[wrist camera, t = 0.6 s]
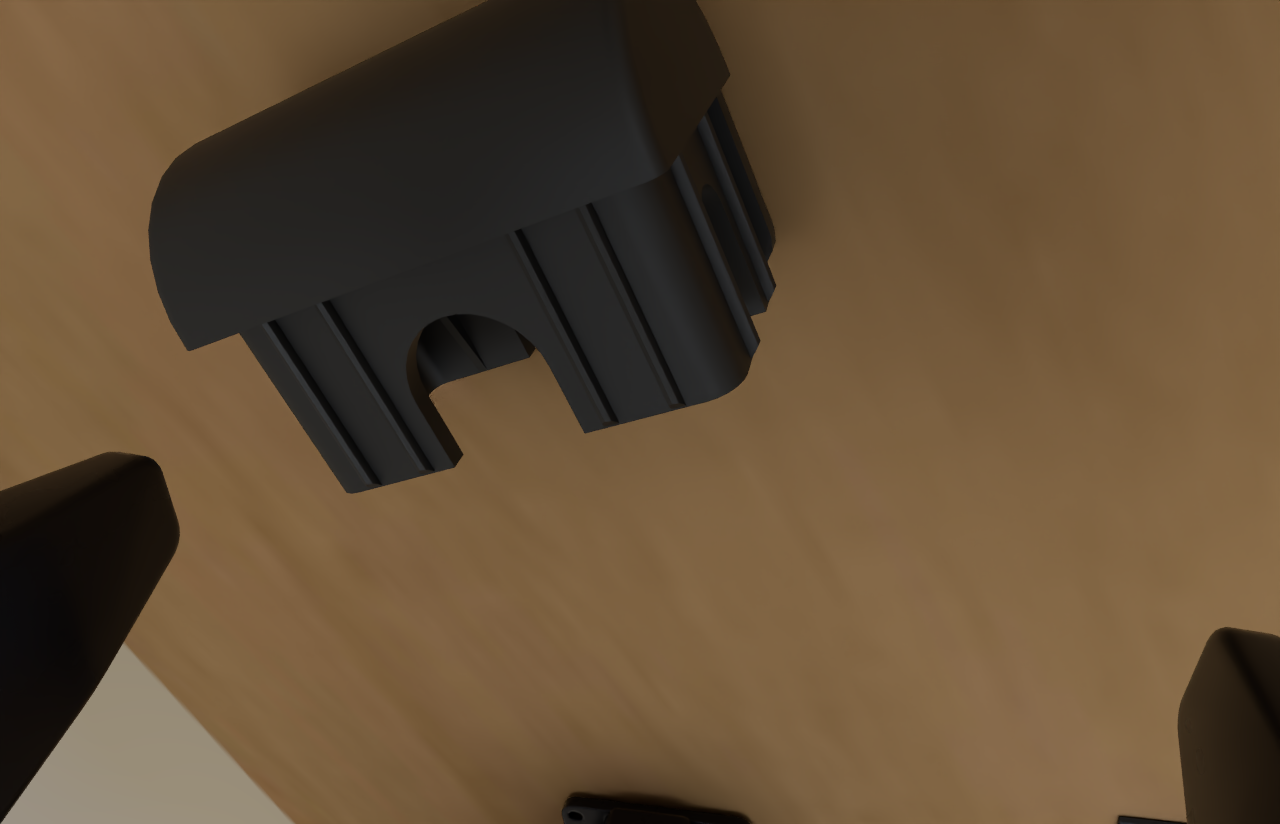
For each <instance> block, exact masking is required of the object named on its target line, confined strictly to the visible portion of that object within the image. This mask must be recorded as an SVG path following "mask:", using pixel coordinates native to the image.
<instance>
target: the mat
mask: <svg viewBox="0 0 1280 824" xmlns="http://www.w3.org/2000/svg"><path fill="white" fill-rule="evenodd" d="M1118 824H1180V823H1172V822H1163V821H1154V820H1145V819H1136V818H1128V817H1119V821H1118Z"/></svg>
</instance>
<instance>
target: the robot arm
mask: <svg viewBox="0 0 1280 824" xmlns="http://www.w3.org/2000/svg"><path fill="white" fill-rule="evenodd" d="M179 537H180V527H179V523H178V519H177V516H176V513H175V510H174V507H173V504H172V501H171V497H170V494H169V491H168V488H167V485H166V482H165V479H164V475H163V472H162V470H161V468H160V466H159V465H158V464H157V463H156V462H155V461H154V460H153V459H151V458H149V457H146V456H141V455H135V454H128V453H122V452H107V453H103V454H100V455H97V456H95V457H92V458H89V459H87V460H84V461H81V462H78V463H76V464H73V465H70V466H67V467H65V468H62V469H59V470H57V471H54V472H51V473H48V474H46V475H43V476H40V477H38V478H35V479H32V480H29V481H27V482H24V483H21V484H18V485H16V486H13V487H10V488H8V489H5V490H2V491H0V823H1V822H2V821H3V820H4V818H5V816H6V815H7V814H8V812H9V811H10V810H11V808H12V807H13V806H14V804H15V803H16V801H17V800H18V799H19V797H20V796H21V794H22V793H23V791H24V790H25V789H26V787H27V786H28V784H29V783H30V782H31V780H32V779H33V777H34V776H35V775H36V773H37V772H38V770H39V769H40V768H41V766H42V765H43V764H44V762H45V761H46V759H47V758H48V757H49V755H50V754H51V752H52V751H53V749H54V748H55V747H56V745H57V744H58V742H59V741H60V740H61V738H62V737H63V735H64V734H65V733H66V731H67V730H68V728H69V727H70V726H71V724H72V723H73V721H74V720H75V719H76V717H77V716H78V714H79V713H80V712H81V710H82V709H83V707H84V706H85V704H86V703H87V701H88V700H89V698H90V697H91V695H92V694H93V692H94V691H95V689H96V688H97V686H98V684H99V683H100V681H101V679H102V678H103V676H104V675H105V673H106V671H107V670H108V668H109V666H110V665H111V663H112V661H113V659H114V657H115V656H116V654H117V653H118V651H119V649H120V647H121V646H122V644H123V642H124V640H125V639H126V637H127V635H128V633H129V632H130V630H131V628H132V627H133V625H134V623H135V621H136V620H137V618H138V616H139V614H140V613H141V611H142V609H143V608H144V606H145V604H146V602H147V601H148V599H149V597H150V595H151V594H152V592H153V590H154V589H155V587H156V585H157V583H158V582H159V580H160V578H161V576H162V575H163V573H164V571H165V570H166V568H167V566H168V564H169V563H170V561H171V559H172V557H173V556H174V554H175V552H176V549H177V546H178V543H179ZM1178 738H1179V748H1180V757H1181V767H1182V777H1183V786H1184V796H1185V805H1186V815H1187V824H1280V637H1278V636H1276V635H1273V634H1268V633H1262V632H1256V631H1249V630H1243V629H1237V628H1230V627H1224V628H1220V629H1218V630H1216V631H1215V632H1214V633H1213V634H1212V635H1211V636H1210V637H1209V639H1208V641H1207V643H1206V645H1205V648H1204V650H1203V652H1202V654H1201V657H1200V659H1199V661H1198V663H1197V666H1196V668H1195V670H1194V673H1193V675H1192V677H1191V679H1190V682H1189V684H1188V686H1187V688H1186V691H1185V693H1184V695H1183V698H1182V700H1181V704H1180V708H1179V714H1178ZM562 816H563V820H564V824H750V823H749V822H748V821H746V820H744V819H743V818H739V817H734V816H726V815H718V814H710V813H702V812H694V811H686V810H678V809H670V808H662V807H654V806H646V805H638V804H630V803H623V802H615V801H607V800H599V799H591V798H583V797H570V798H568V799H567V800H566V801H565V804H564V807H563V810H562Z"/></svg>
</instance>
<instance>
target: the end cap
mask: <svg viewBox="0 0 1280 824" xmlns="http://www.w3.org/2000/svg"><path fill="white" fill-rule="evenodd" d="M729 76H730V73H729V70H728V68H727V65H726V63H725V60H724V58H723V56H722V53H721V51H720V48H719V46H718V44H717V42H716V40H715V37H714V35H713V33H712V31H711V29H710V27H709V25H708V22H707V20H706V19H705V17H704V15H703V13H702V11H701V9H700V7H699V6H698V4H697V2H696V0H488V1H486V2H484V3H482V4H480V5H478V6H475V7H473V8H471V9H469V10H467V11H465V12H463V13H461V14H459V15H457V16H455V17H453V18H451V19H449V20H447V21H445V22H443V23H441V24H439V25H437V26H435V27H433V28H431V29H429V30H427V31H425V32H422V33H420V34H418V35H416V36H414V37H412V38H410V39H408V40H406V41H404V42H402V43H400V44H398V45H396V46H394V47H392V48H390V49H388V50H386V51H384V52H382V53H380V54H378V55H376V56H374V57H371V58H369V59H367V60H365V61H363V62H361V63H359V64H357V65H355V66H353V67H351V68H349V69H347V70H345V71H343V72H341V73H339V74H337V75H335V76H333V77H331V78H329V79H327V80H325V81H323V82H320V83H318V84H316V85H314V86H312V87H310V88H308V89H306V90H304V91H302V92H300V93H298V94H296V95H294V96H292V97H290V98H288V99H286V100H284V101H282V102H280V103H278V104H276V105H274V106H272V107H269V108H267V109H265V110H263V111H261V112H259V113H257V114H255V115H253V116H251V117H249V118H247V119H245V120H243V121H241V122H239V123H237V124H235V125H233V126H231V127H229V128H227V129H225V130H223V131H221V132H218V133H216V134H214V135H212V136H210V137H208V138H206V139H204V140H202V141H200V142H198V143H196V144H194V145H193V146H192V147H190V148H189V149H187V150H186V151H185V152H183V153H182V154H181V155H179V156H178V157H177V158H175V160H174V161H173V162H172V164H171V165H170V166H169V168H168V169H167V170H166V172H165V173H164V175H163V176H162V178H161V180H160V183H159V186H158V188H157V191H156V194H155V196H154V199H153V202H152V206H151V214H150V222H149V229H148V232H149V247H150V261H151V265H152V269H153V273H154V277H155V281H156V286H157V290H158V293H159V295H160V298H161V300H162V303H163V305H164V307H165V310H166V312H167V315H168V317H169V320H170V322H171V324H172V325H173V327H174V329H175V330H176V332H177V334H178V336H179V337H180V339H181V341H182V342H183V344H184V346H185V347H186V349H187V351H191V350H194V349H197V348H199V347H202V346H205V345H208V344H210V343H213V342H216V341H218V340H221V339H224V338H226V337H229V336H232V335H235V334H237V333H240V335H241V336H242V338H243V339H244V341H245V342H246V344H247V345H248V347H249V348H250V350H251V351H252V353H253V354H254V356H255V357H256V359H257V360H258V362H259V363H260V365H261V366H262V368H263V369H264V371H265V372H266V373H267V375H268V376H269V378H270V379H271V381H272V382H273V384H274V385H275V387H276V388H277V390H278V391H279V393H280V394H281V396H282V397H283V399H284V400H285V402H286V403H287V405H288V406H289V408H290V409H291V411H292V412H293V414H294V415H295V417H296V418H297V420H298V421H299V423H300V424H301V426H302V427H303V429H304V430H305V432H306V433H307V435H308V436H309V438H310V439H311V441H312V442H313V443H314V445H315V446H316V448H317V449H318V451H319V452H320V454H321V455H322V457H323V458H324V460H325V461H326V463H327V464H328V466H329V467H330V469H331V470H332V472H333V473H334V475H335V476H336V478H337V479H338V481H339V482H340V484H341V485H342V487H343V488H344V490H345V491H346V492H347V493H351V494H352V493H358V492H362V491H366V490H370V489H374V488H378V487H381V486H385V485H389V484H393V483H397V482H401V481H404V480H408V479H412V478H416V477H420V476H424V475H427V474H431V473H435V472H439V471H443V470H447V469H450V468H454V467H455V466H456V465H457V463H458V462H459V460H460V459H461V457H462V456H463V453H462V451H461V449H460V448H459V446H458V444H457V443H456V441H455V439H454V438H453V436H452V434H451V433H450V431H449V429H448V428H447V426H446V424H445V423H444V421H443V419H442V418H441V416H440V414H439V412H438V411H437V409H436V407H435V406H434V404H433V402H432V401H431V399H430V397H429V394H430V393H431V392H432V391H433V390H434V389H436V388H437V387H439V386H440V385H442V384H445V383H447V382H450V381H454V380H457V379H460V378H464V377H467V376H470V375H473V374H477V373H480V372H483V371H487V370H490V369H493V368H496V367H500V366H503V365H506V364H509V363H513V362H516V361H519V360H523V359H526V358H529V357H530V356H531V354H532V353H533V351H534V350H535V349H536V348H537V349H538V351H539V352H540V353H541V354H542V356H543V357H544V359H545V360H546V362H547V363H548V365H549V367H550V369H551V370H552V372H553V374H554V376H555V378H556V380H557V382H558V384H559V386H560V387H561V389H562V391H563V393H564V395H565V397H566V399H567V401H568V403H569V405H570V406H571V408H572V410H573V412H574V414H575V416H576V418H577V420H578V422H579V423H580V425H581V427H582V429H583V431H584V433H589V432H593V431H596V430H600V429H604V428H608V427H612V426H616V425H619V424H623V423H627V422H631V421H635V420H639V419H642V418H646V417H650V416H654V415H658V414H662V413H665V412H669V411H673V410H677V409H681V408H685V407H688V406H692V405H696V404H700V403H704V402H708V401H711V400H713V399H716V398H719V397H721V396H723V395H725V394H727V393H729V392H730V391H732V390H733V389H735V388H736V387H738V386H739V385H740V384H741V383H742V382H743V381H744V380H745V378H746V376H747V374H748V371H749V368H750V364H751V361H752V358H753V355H754V353H755V351H756V349H757V347H758V345H759V343H760V338H759V336H758V333H757V331H756V329H755V326H754V324H753V321H752V319H751V317H750V316H753V315H756V314H759V313H763V312H766V310H767V307H768V303H769V300H770V298H771V296H772V294H773V292H774V290H775V288H776V283H775V281H774V278H773V276H772V273H771V271H770V268H769V266H768V263H767V261H768V259H769V257H770V255H771V253H772V251H773V248H774V244H775V241H776V240H775V230H774V226H773V223H772V220H771V218H770V215H769V213H768V210H767V208H766V205H765V202H764V200H763V197H762V195H761V192H760V190H759V187H758V184H757V182H756V179H755V177H754V174H753V171H752V169H751V166H750V164H749V161H748V159H747V156H746V153H745V151H744V148H743V146H742V143H741V141H740V138H739V135H738V133H737V130H736V128H735V125H734V123H733V120H732V117H731V115H730V112H729V110H728V107H727V104H726V102H725V99H724V97H723V94H722V92H721V89H722V87H723V86H724V84H725V83H726V81H727V79H728V78H729ZM535 347H536V348H535Z"/></svg>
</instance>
